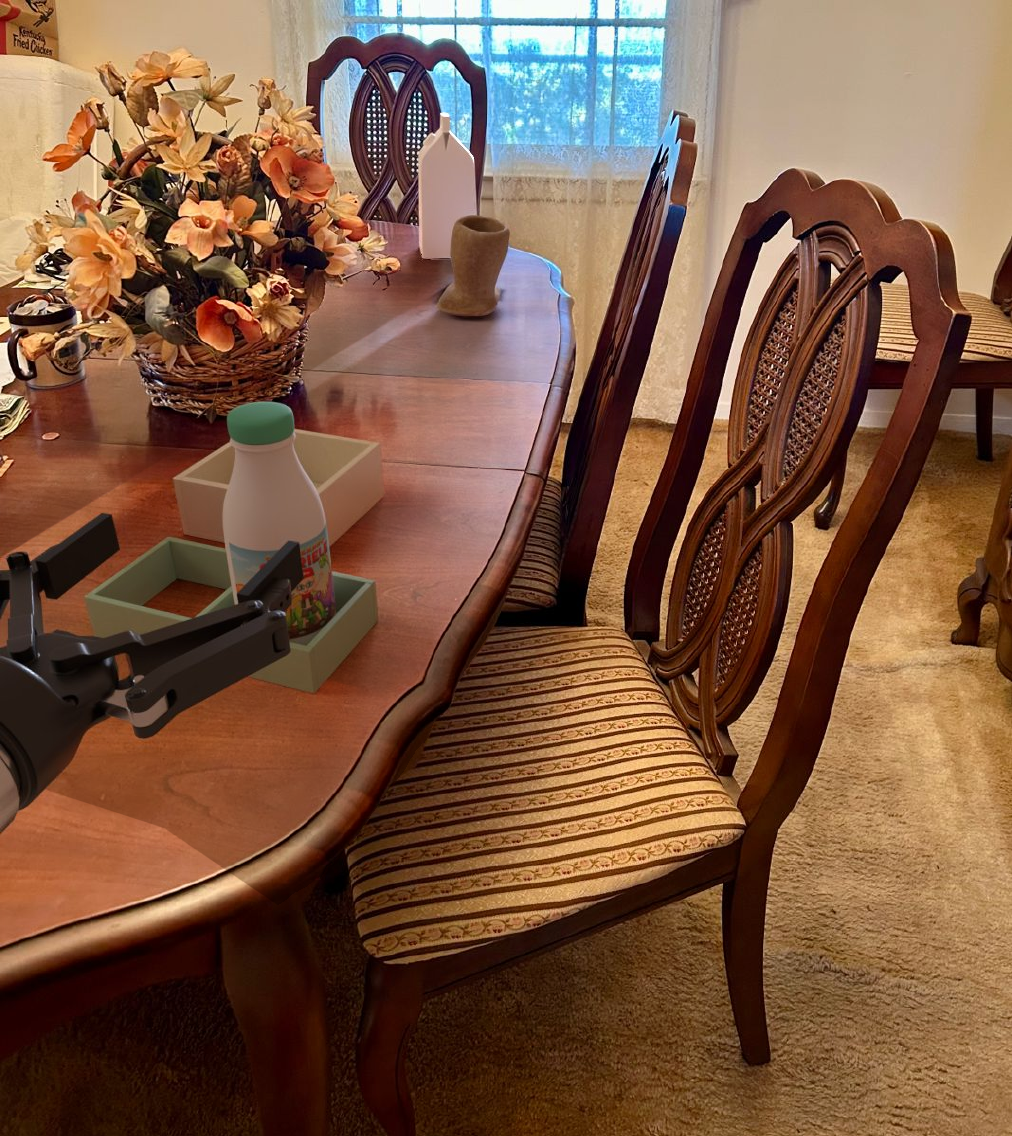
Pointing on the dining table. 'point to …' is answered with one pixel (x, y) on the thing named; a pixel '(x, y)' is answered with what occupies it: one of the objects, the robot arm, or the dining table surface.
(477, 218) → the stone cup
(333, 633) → the green divided tray
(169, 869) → the dining table surface
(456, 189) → the milk
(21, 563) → the robot arm
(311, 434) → the cream square box
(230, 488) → the milk bottle
